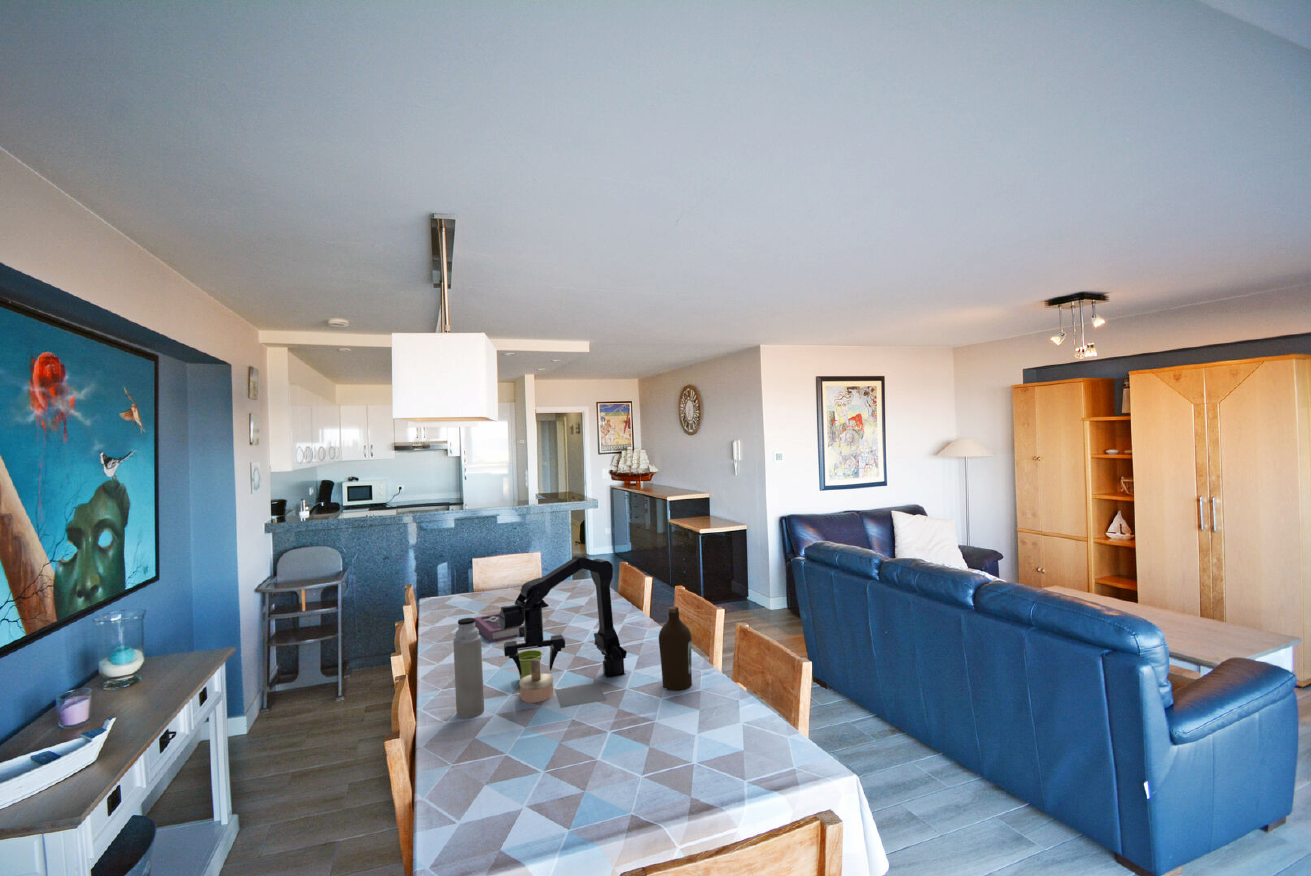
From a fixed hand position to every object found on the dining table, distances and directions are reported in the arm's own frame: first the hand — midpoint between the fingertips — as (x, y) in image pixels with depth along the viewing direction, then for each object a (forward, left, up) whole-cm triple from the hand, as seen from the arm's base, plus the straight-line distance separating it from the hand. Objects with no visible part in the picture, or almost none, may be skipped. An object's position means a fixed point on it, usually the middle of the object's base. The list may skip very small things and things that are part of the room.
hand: (535, 672), depth 186 cm
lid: (0, 0, -3) cm, 3 cm away
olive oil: (-44, +9, -8) cm, 46 cm away
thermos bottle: (+20, +3, -8) cm, 22 cm away
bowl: (0, 0, -8) cm, 8 cm away
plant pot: (+1, -15, -8) cm, 17 cm away
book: (+8, -77, -8) cm, 78 cm away
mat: (-13, +5, -8) cm, 16 cm away
